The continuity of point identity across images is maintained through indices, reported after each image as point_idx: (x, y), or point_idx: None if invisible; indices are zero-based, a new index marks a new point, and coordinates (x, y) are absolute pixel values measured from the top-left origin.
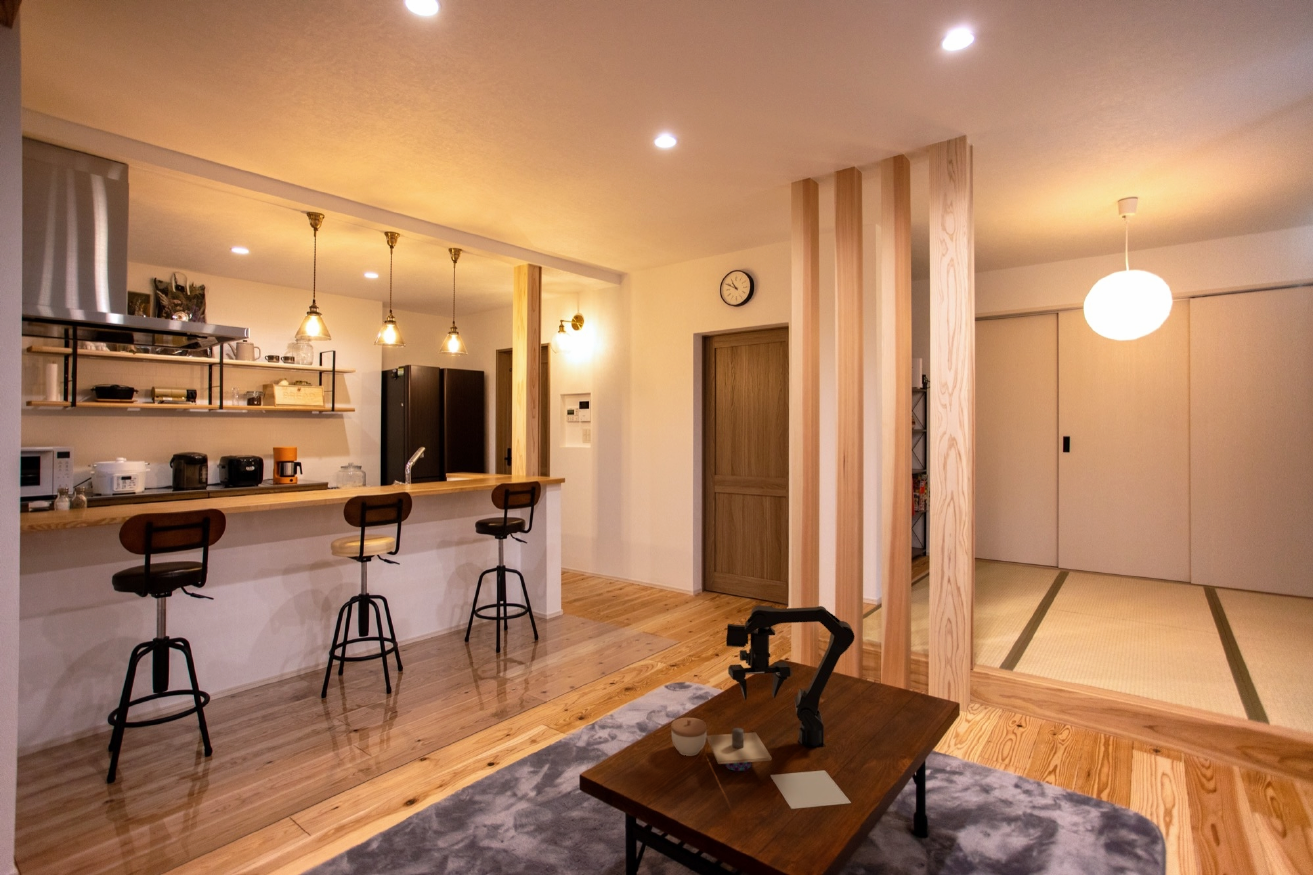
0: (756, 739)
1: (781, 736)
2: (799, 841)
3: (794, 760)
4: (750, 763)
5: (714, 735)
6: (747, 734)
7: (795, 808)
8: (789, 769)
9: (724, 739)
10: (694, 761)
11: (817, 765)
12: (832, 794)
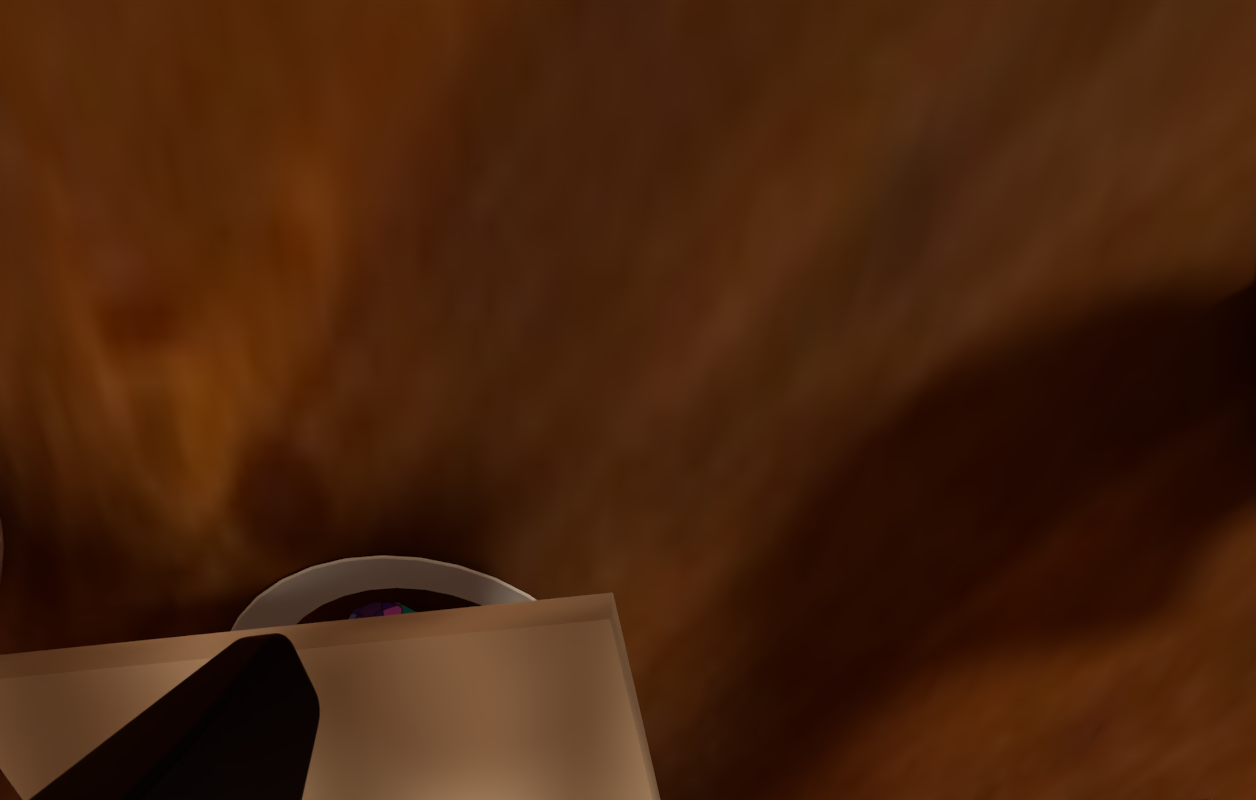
0: (599, 768)
1: (1091, 66)
2: None
3: (1010, 631)
4: None
5: (43, 681)
6: (486, 663)
7: None
8: (898, 755)
9: None
10: (12, 637)
11: (1208, 708)
12: None
